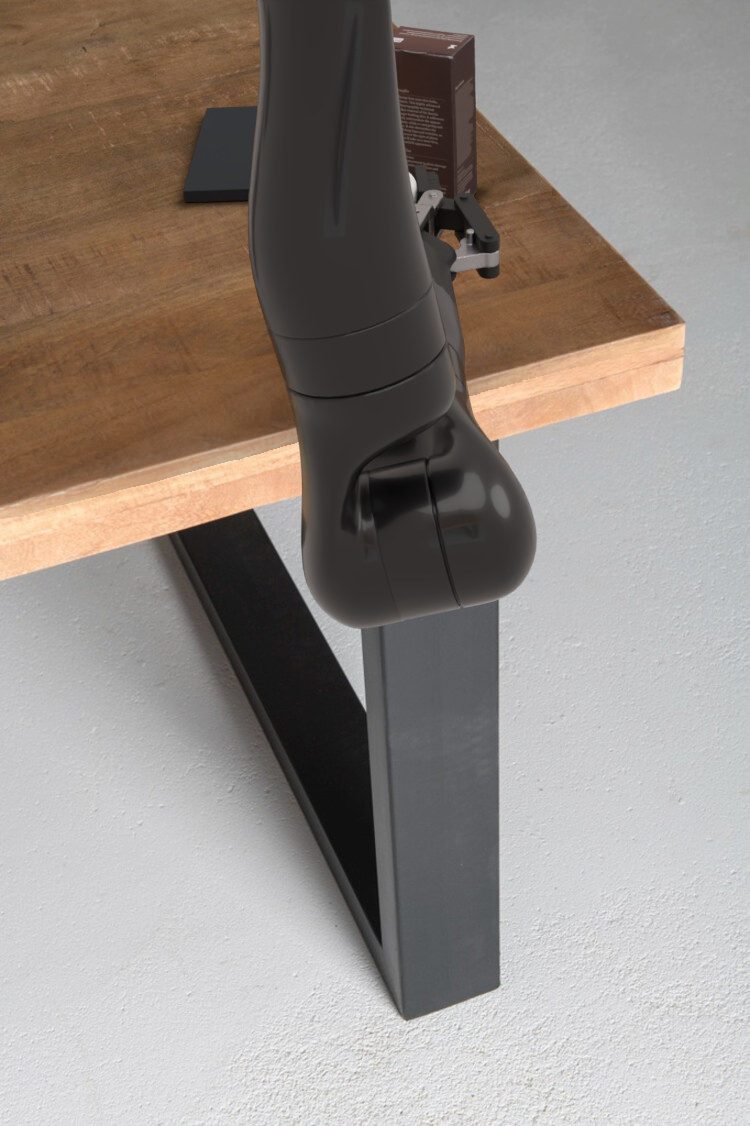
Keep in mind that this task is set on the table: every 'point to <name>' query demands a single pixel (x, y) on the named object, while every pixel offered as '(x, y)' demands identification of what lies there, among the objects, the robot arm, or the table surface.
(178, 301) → the table surface
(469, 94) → the box
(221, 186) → the charcoal mat
